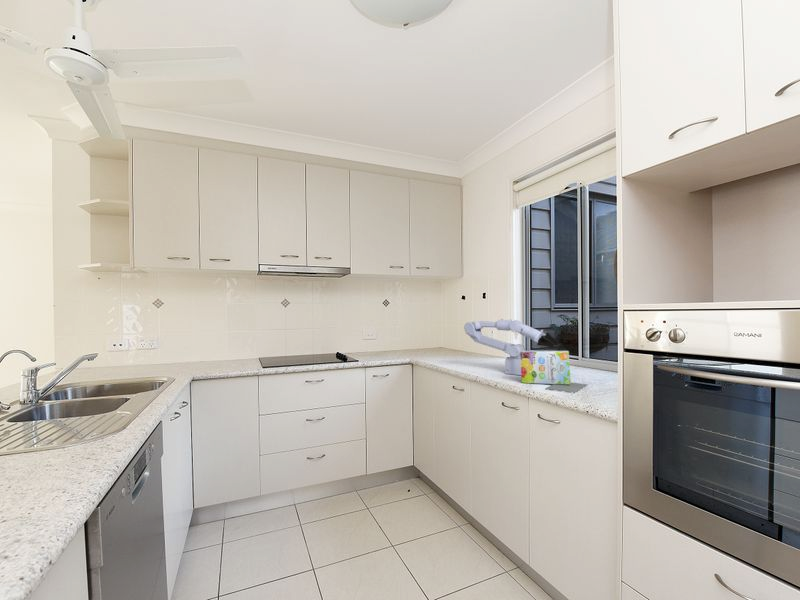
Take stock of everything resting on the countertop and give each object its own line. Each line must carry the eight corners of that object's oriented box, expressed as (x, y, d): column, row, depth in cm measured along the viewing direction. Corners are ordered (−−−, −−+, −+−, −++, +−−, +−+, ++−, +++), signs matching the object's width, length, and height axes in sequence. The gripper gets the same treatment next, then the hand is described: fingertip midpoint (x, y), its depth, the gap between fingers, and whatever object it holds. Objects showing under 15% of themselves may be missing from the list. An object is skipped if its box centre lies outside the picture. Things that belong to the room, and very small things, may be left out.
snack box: (570, 383, 170) (568, 350, 171) (570, 385, 165) (568, 351, 166) (522, 381, 179) (521, 350, 180) (521, 383, 174) (519, 351, 175)
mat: (545, 389, 160) (545, 388, 160) (560, 382, 175) (560, 381, 175) (574, 393, 152) (574, 392, 152) (587, 385, 168) (587, 384, 168)
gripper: (529, 328, 188) (554, 339, 180) (538, 324, 199) (562, 335, 192) (524, 340, 190) (549, 352, 182) (533, 336, 201) (557, 347, 194)
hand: (555, 344), depth 187 cm, fingers open, 7 cm apart
